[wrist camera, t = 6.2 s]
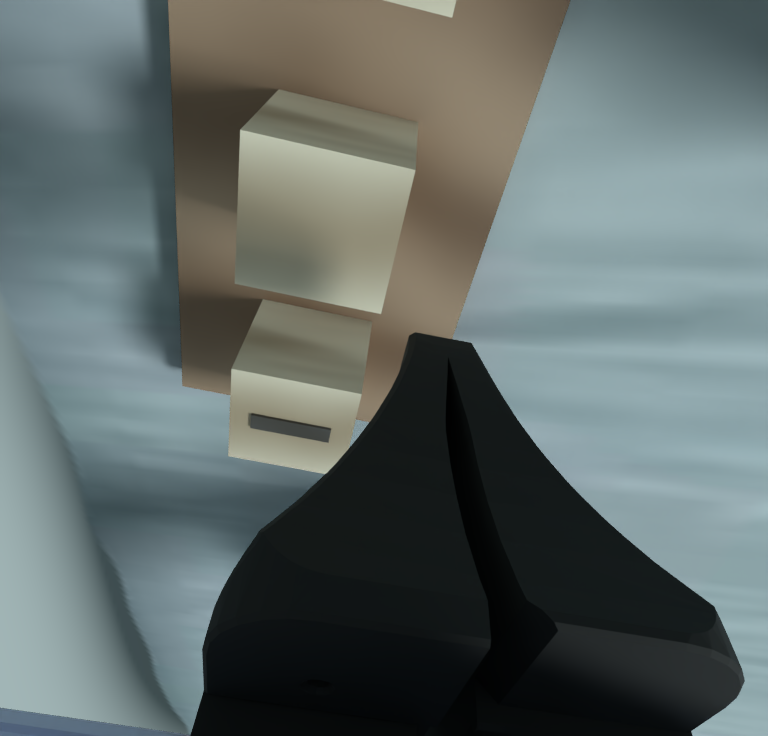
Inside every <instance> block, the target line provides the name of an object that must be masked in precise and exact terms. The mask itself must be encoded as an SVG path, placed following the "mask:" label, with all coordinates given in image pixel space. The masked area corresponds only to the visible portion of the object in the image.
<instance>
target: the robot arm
mask: <svg viewBox="0 0 768 736" xmlns="http://www.w3.org/2000/svg"><path fill="white" fill-rule="evenodd" d="M202 651H203V676H204V692H203V696H202V699H201V702H200V706H199V709H198V712H197V716H196V719H195V722H194V726H193V729H192V732H191V735H188V734H181V733H174V732H167V731H160V730H153V729H146V728H138V727H132V726H125V725H118V724H111V723H104V722H97V721H90V720H83V719H76V718H69V717H61V716H54V715H47V714H40V713H33V712H26V711H19V710H12V709H5V708H0V736H692V733H691V731H692V730H693V729H695V728H696V727H698V726H699V725H701V724H702V723H704V722H705V721H707V720H708V719H709V718H711V717H712V716H714V715H715V714H717V713H718V712H720V711H721V710H723V709H724V708H726V707H727V706H728V705H729V704H730V703H731V702H732V701H733V700H735V699H736V698H737V696H738V694H739V693H740V691H741V688H742V686H743V683H744V681H745V680H744V676H743V672H742V668H741V666H740V664H739V661H738V659H737V656H736V654H735V652H734V649H733V647H732V645H731V642H730V640H729V638H728V635H727V633H726V631H725V629H724V626H723V624H722V622H721V620H720V617H719V615H718V613H717V611H716V610H715V607H714V606H713V605H711V604H710V603H709V602H707V601H706V600H705V599H703V598H702V597H701V596H699V595H698V594H697V593H695V592H694V591H693V590H691V589H690V588H688V587H687V586H686V585H684V584H683V583H682V582H680V581H679V580H678V579H676V578H675V577H674V576H672V575H671V574H670V573H668V572H667V571H666V570H664V569H663V568H661V567H660V566H659V565H658V564H656V563H655V562H654V561H653V560H651V559H650V558H649V557H648V556H647V555H645V554H644V553H643V552H642V551H641V550H639V549H638V548H637V547H636V546H635V545H633V544H632V543H631V542H630V541H629V540H627V539H626V538H625V537H624V536H623V535H622V534H621V533H619V532H618V531H617V530H616V529H615V528H614V527H613V526H612V525H610V524H609V523H608V522H607V521H606V520H605V519H604V518H603V517H602V516H601V515H600V514H599V513H598V512H597V511H596V510H595V509H594V508H593V507H592V506H591V505H590V504H589V503H588V502H586V501H585V500H584V499H583V498H582V497H581V496H580V495H579V494H578V493H577V492H576V490H575V489H574V488H573V487H572V486H571V485H570V484H569V483H568V482H567V481H566V480H565V479H564V478H563V476H562V475H561V474H560V473H559V472H558V471H557V469H556V468H555V467H554V466H553V465H552V464H551V463H550V461H549V460H548V459H547V458H546V457H545V456H544V454H543V453H542V452H541V451H540V449H539V448H538V447H537V446H536V444H535V443H534V442H533V440H532V439H531V438H530V436H529V435H528V433H527V432H526V431H525V429H524V428H523V427H522V425H521V424H520V423H519V421H518V420H517V418H516V417H515V415H514V414H513V412H512V411H511V409H510V407H509V406H508V404H507V403H506V401H505V400H504V398H503V396H502V395H501V393H500V392H499V390H498V388H497V387H496V385H495V383H494V382H493V380H492V378H491V376H490V375H489V373H488V371H487V369H486V368H485V366H484V364H483V362H482V361H481V359H480V357H479V355H478V353H477V352H476V350H475V348H474V347H473V345H472V343H469V342H463V341H458V340H453V339H448V338H443V337H438V336H433V335H427V334H422V333H417V332H415V333H413V334H411V335H409V337H408V341H407V345H406V349H405V352H404V356H403V360H402V364H401V367H400V371H399V374H398V376H397V378H396V380H395V382H394V384H393V386H392V388H391V389H390V391H389V393H388V395H387V396H386V398H385V399H384V401H383V403H382V404H381V406H380V407H379V409H378V411H377V412H376V414H375V415H374V417H373V418H372V420H371V421H370V422H369V424H368V425H367V427H366V428H365V429H364V431H363V432H362V433H361V434H360V436H359V437H358V438H357V440H356V441H355V442H354V443H353V444H352V446H351V447H350V448H349V449H348V450H347V451H346V453H345V454H344V455H343V456H342V457H341V458H340V459H339V461H338V462H337V463H336V464H335V465H334V466H333V467H332V468H331V469H330V470H329V471H328V472H327V473H326V474H325V475H324V476H323V477H322V478H321V479H320V480H319V481H318V482H317V483H316V484H315V485H313V486H312V487H311V488H310V489H309V490H308V491H307V492H306V493H305V494H304V495H303V496H302V497H301V498H300V499H298V500H297V501H296V502H295V503H294V504H293V505H291V506H290V507H289V508H288V509H286V510H285V511H284V512H283V513H281V514H280V515H279V516H278V517H276V518H275V519H274V520H273V521H271V522H270V523H269V524H267V525H266V526H265V527H264V528H262V529H261V530H260V531H259V533H258V534H257V536H256V537H255V538H254V540H253V541H252V543H251V544H250V546H249V547H248V549H247V550H246V551H245V553H244V554H243V556H242V557H241V559H240V560H239V562H238V564H237V565H236V567H235V568H234V570H233V571H232V573H231V575H230V577H229V578H228V580H227V582H226V584H225V586H224V588H223V589H222V591H221V594H220V596H219V598H218V600H217V602H216V605H215V607H214V610H213V614H212V617H211V620H210V624H209V627H208V630H207V634H206V637H205V641H204V645H203V649H202Z"/></svg>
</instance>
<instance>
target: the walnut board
mask: <svg viewBox="0 0 768 736" xmlns="http://www.w3.org/2000/svg"><path fill="white" fill-rule="evenodd" d="M569 3H570V0H456V4H455V8H454V12H453V16H452V18H451V17H447V16H443V15H439V14H435V13H431V12H428V11H424V10H420V9H416V8H412V7H408V6H404V5H400V4H396V3H392V2H388V1H384V0H168V11H169V38H170V64H171V91H172V118H173V144H174V171H175V198H176V224H177V251H178V277H179V304H180V331H181V357H182V384H183V386H185V387H190V388H196V389H201V390H206V391H211V392H216V393H221V394H227V395H231V369H232V366H233V364H234V362H235V360H236V358H237V355H238V353H239V351H240V349H241V347H242V344H243V342H244V340H245V338H246V336H247V333H248V331H249V329H250V327H251V324H252V322H253V320H254V318H255V316H256V313H257V311H258V309H259V307H260V305H261V302H262V300H263V299H264V300H269V301H274V302H279V303H284V304H289V305H293V306H298V307H303V308H308V309H313V310H318V311H322V312H327V313H332V314H337V315H342V316H347V317H351V318H356V319H361V320H366V321H371V322H372V327H371V334H370V341H369V348H368V355H367V361H366V368H365V375H364V382H363V389H362V395H361V399H360V404H359V408H358V412H357V416H356V419H357V420H362V421H367V422H370V421H371V420H372V418H373V417H374V415H375V414H376V412H377V411H378V409H379V407H380V406H381V404H382V403H383V401H384V399H385V398H386V396H387V395H388V393H389V391H390V389H391V388H392V386H393V384H394V382H395V380H396V378H397V376H398V374H399V371H400V367H401V364H402V360H403V356H404V352H405V349H406V345H407V341H408V337H409V335H411V334H413V333H415V332H417V333H422V334H427V335H433V336H438V337H443V338H448V339H452V337H453V334H454V331H455V329H456V326H457V323H458V320H459V317H460V314H461V311H462V309H463V306H464V303H465V300H466V297H467V294H468V291H469V289H470V286H471V283H472V280H473V277H474V274H475V271H476V269H477V266H478V263H479V260H480V257H481V254H482V251H483V249H484V246H485V243H486V240H487V237H488V234H489V231H490V229H491V226H492V223H493V220H494V217H495V214H496V211H497V209H498V206H499V203H500V200H501V197H502V194H503V191H504V189H505V186H506V183H507V180H508V177H509V174H510V172H511V169H512V166H513V163H514V160H515V157H516V154H517V152H518V149H519V146H520V143H521V140H522V137H523V134H524V132H525V129H526V126H527V123H528V120H529V117H530V114H531V112H532V109H533V106H534V103H535V100H536V97H537V94H538V92H539V89H540V86H541V83H542V80H543V77H544V74H545V72H546V69H547V66H548V63H549V60H550V57H551V54H552V52H553V49H554V46H555V43H556V40H557V37H558V34H559V32H560V29H561V26H562V23H563V20H564V17H565V14H566V12H567V9H568V6H569ZM278 90H284V91H288V92H292V93H296V94H301V95H305V96H309V97H313V98H317V99H322V100H326V101H330V102H334V103H339V104H343V105H347V106H351V107H355V108H360V109H364V110H368V111H372V112H377V113H381V114H385V115H389V116H394V117H398V118H402V119H406V120H410V121H415V122H418V136H417V154H416V170H415V175H414V179H413V183H412V187H411V191H410V195H409V200H408V204H407V208H406V212H405V216H404V220H403V225H402V229H401V233H400V237H399V241H398V245H397V250H396V254H395V258H394V262H393V266H392V270H391V274H390V279H389V283H388V287H387V291H386V295H385V299H384V304H383V308H382V312H381V314H378V313H373V312H368V311H364V310H359V309H354V308H349V307H344V306H340V305H335V304H330V303H325V302H320V301H316V300H311V299H306V298H301V297H296V296H292V295H287V294H282V293H277V292H272V291H268V290H263V289H258V288H253V287H248V286H244V285H239V284H235V259H236V232H237V204H238V177H239V150H240V129H241V128H242V127H243V126H244V125H245V124H246V123H247V122H248V121H249V120H250V119H251V118H252V117H253V116H254V115H255V114H256V113H257V112H258V111H259V110H260V109H261V107H262V106H263V105H264V104H265V103H266V102H267V101H268V100H269V99H270V98H271V97H272V96H273V95H274V94H275V93H276V92H277V91H278Z"/></svg>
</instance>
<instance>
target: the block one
mask: <svg viewBox="0 0 768 736" xmlns="http://www.w3.org/2000/svg"><path fill="white" fill-rule="evenodd" d="M371 327H372V322H371V321H366V320H361V319H356V318H351V317H347V316H342V315H337V314H332V313H327V312H322V311H318V310H313V309H308V308H303V307H298V306H293V305H289V304H284V303H279V302H274V301H269V300H264V299H263V300H262V302H261V305H260V307H259V309H258V311H257V313H256V316H255V318H254V320H253V322H252V324H251V327H250V329H249V331H248V333H247V336H246V338H245V340H244V342H243V344H242V347H241V349H240V351H239V353H238V355H237V358H236V360H235V362H234V364H233V366H232V369H231V396H230V424H229V451H228V456H230V457H236V458H241V459H246V460H252V461H257V462H263V463H268V464H274V465H279V466H285V467H290V468H295V469H301V470H306V471H312V472H317V473H323V474H326V473H327V472H328V471H329V470H330V469H331V468H332V467H333V466H334V465H335V464H336V463H337V462H338V461H339V459H340V458H341V457H342V456H343V455H344V454H345V453H346V451H347V450H348V449H349V445H350V441H351V437H352V433H353V428H354V424H355V420H356V416H357V412H358V408H359V404H360V399H361V395H362V389H363V382H364V375H365V368H366V361H367V355H368V348H369V341H370V334H371Z"/></svg>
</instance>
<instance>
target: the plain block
mask: <svg viewBox="0 0 768 736" xmlns="http://www.w3.org/2000/svg"><path fill="white" fill-rule="evenodd" d="M417 136H418V122H415V121H410V120H406V119H402V118H398V117H394V116H389V115H385V114H381V113H377V112H372V111H368V110H364V109H360V108H355V107H351V106H347V105H343V104H339V103H334V102H330V101H326V100H322V99H317V98H313V97H309V96H305V95H301V94H296V93H292V92H288V91H284V90H278V91H277V92H276V93H275V94H274V95H273V96H272V97H271V98H270V99H269V100H268V101H267V102H266V103H265V104H264V105H263V106H262V107H261V109H260V110H259V111H258V112H257V113H256V114H255V115H254V116H253V117H252V118H251V119H250V120H249V121H248V122H247V123H246V124H245V125H244V126H243V127H242V128H241V129H240V150H239V177H238V204H237V232H236V259H235V284H239V285H244V286H248V287H253V288H258V289H263V290H268V291H272V292H277V293H282V294H287V295H292V296H296V297H301V298H306V299H311V300H316V301H320V302H325V303H330V304H335V305H340V306H344V307H349V308H354V309H359V310H364V311H368V312H373V313H378V314H381V312H382V308H383V304H384V299H385V295H386V291H387V287H388V283H389V279H390V274H391V270H392V266H393V262H394V258H395V254H396V250H397V245H398V241H399V237H400V233H401V229H402V225H403V220H404V216H405V212H406V208H407V204H408V200H409V195H410V191H411V187H412V183H413V179H414V175H415V170H416V154H417Z"/></svg>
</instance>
